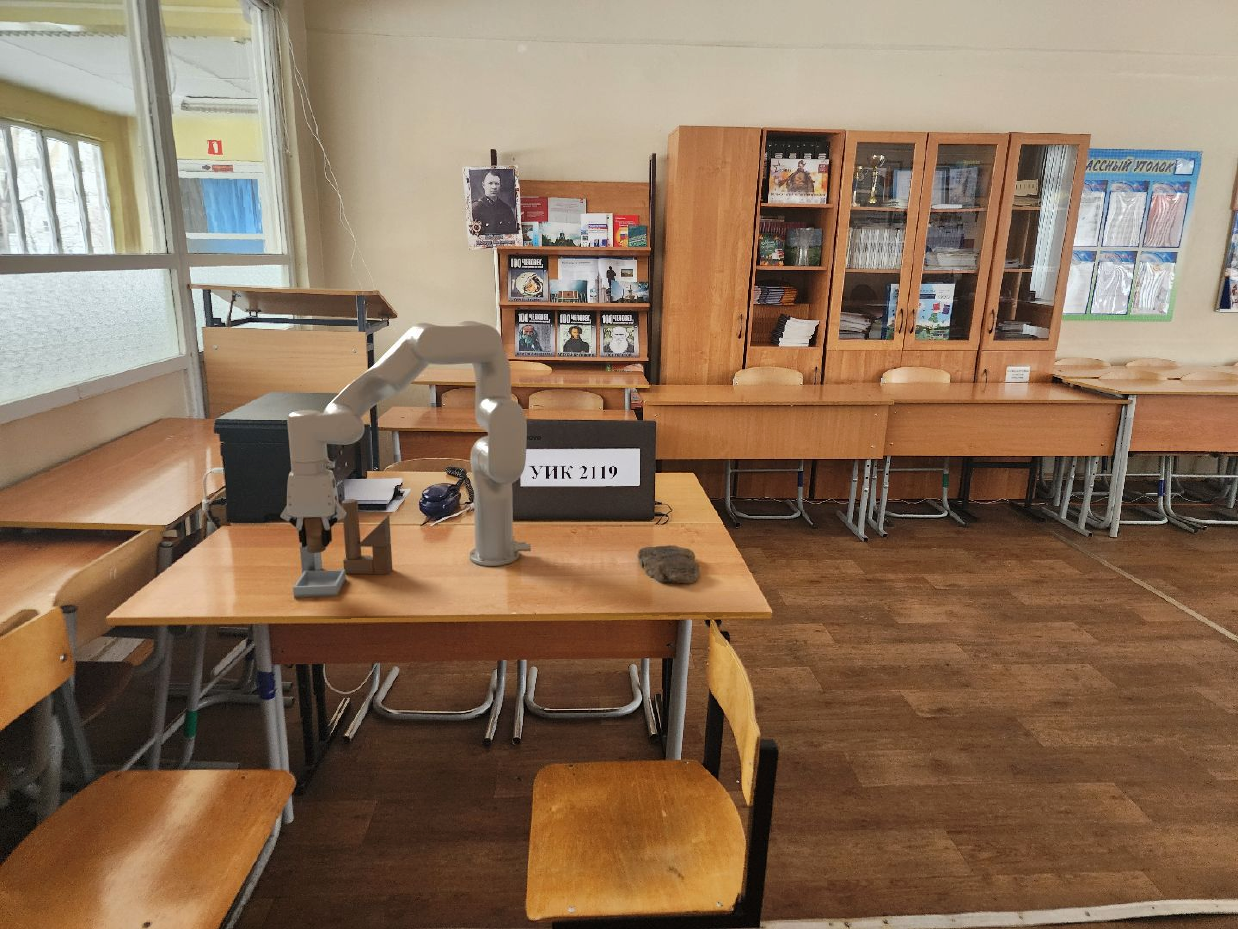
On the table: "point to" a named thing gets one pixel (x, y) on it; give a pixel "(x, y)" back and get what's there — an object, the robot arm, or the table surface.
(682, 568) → the grey rock
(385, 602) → the table surface
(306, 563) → the rectangular block
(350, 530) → the wooden blocks
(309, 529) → the dowel
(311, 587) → the tray
